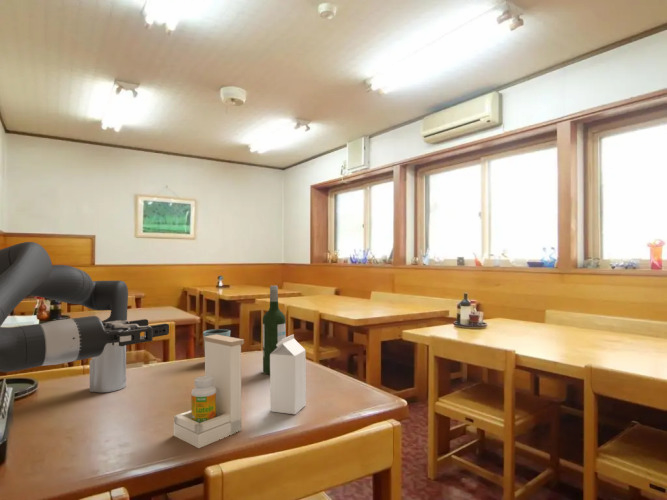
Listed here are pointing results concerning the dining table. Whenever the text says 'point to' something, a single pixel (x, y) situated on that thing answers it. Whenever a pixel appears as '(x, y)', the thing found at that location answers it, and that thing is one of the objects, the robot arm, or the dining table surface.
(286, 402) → the milk carton
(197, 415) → the supplement bottle
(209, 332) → the drinking glass
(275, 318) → the wine bottle
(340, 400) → the dining table surface
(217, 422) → the white feeder tower
